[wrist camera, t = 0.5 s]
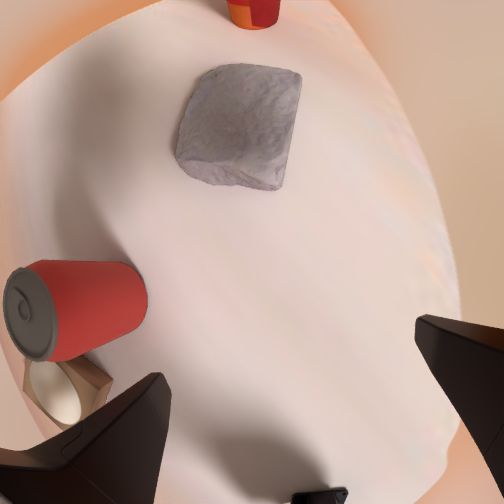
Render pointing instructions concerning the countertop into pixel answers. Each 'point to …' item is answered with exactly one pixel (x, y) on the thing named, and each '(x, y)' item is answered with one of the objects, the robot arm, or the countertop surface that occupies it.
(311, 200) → the countertop surface
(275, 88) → the stone block
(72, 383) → the walnut pedestal
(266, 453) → the countertop surface
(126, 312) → the beer can
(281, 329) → the countertop surface
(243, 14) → the paper cup
